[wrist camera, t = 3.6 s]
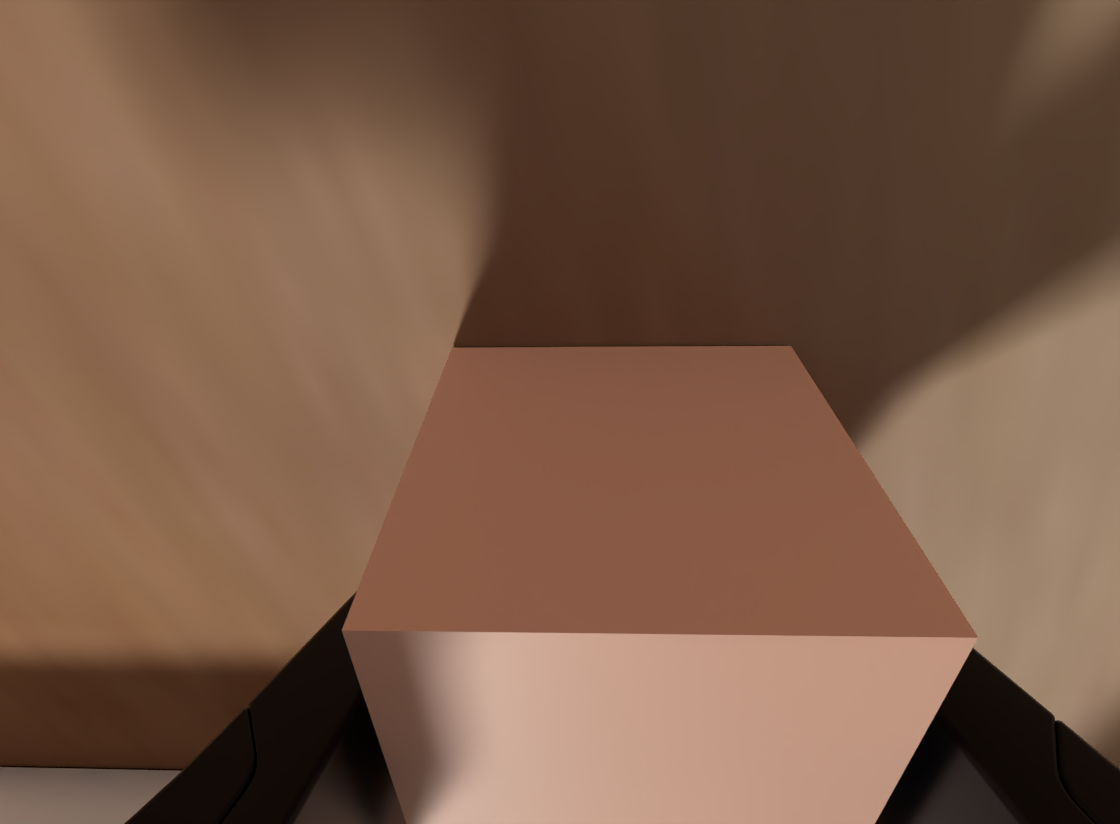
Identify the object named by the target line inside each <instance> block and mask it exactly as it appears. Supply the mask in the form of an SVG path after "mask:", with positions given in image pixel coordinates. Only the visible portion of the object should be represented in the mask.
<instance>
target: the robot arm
mask: <svg viewBox="0 0 1120 824" xmlns="http://www.w3.org/2000/svg"><path fill="white" fill-rule="evenodd" d="M356 593H357V591H356V592H355V594H354V595H353V596H352V597H351V598H350V599H349V600H348V601H347V602H346V603H345V604H344V605H343V606H342V607H341V608H340V609H339V610H338V611H337V612H336V613H335V614H334V615H333V616H332V617H331V618H330V619H329V620H328V622H327V623H326V624H325V625H324V626H323V627H322V628H321V629H320V630H319V631H318V632H317V633H316V634H315V635H314V636H313V637H312V638H311V639H310V640H309V641H308V642H307V643H306V644H305V645H304V646H303V647H302V648H301V650H300V651H299V652H298V653H297V654H296V655H295V656H294V657H293V658H292V659H291V660H290V661H289V662H288V663H287V664H286V665H285V666H284V667H283V668H282V669H281V670H280V671H279V672H278V673H277V674H276V675H275V676H274V678H273V679H272V680H271V681H270V682H269V683H268V684H267V685H266V686H265V687H264V688H263V689H262V690H261V691H260V692H259V693H258V694H257V695H256V696H255V697H254V698H253V699H252V700H251V701H250V703H249V708H244V709H242V710H241V711H240V712H239V713H238V715H237V716H236V717H235V718H234V719H233V720H232V721H231V722H230V723H229V724H228V725H227V726H226V727H225V728H224V729H223V730H222V731H221V732H220V733H219V734H218V735H217V736H216V737H215V738H214V739H213V740H212V741H211V742H210V743H209V744H208V745H207V746H206V747H205V748H204V749H203V750H202V751H201V752H200V753H199V754H198V755H197V756H196V757H195V758H194V759H193V760H192V761H191V762H190V763H189V764H188V765H187V766H186V767H185V768H184V769H183V770H182V771H181V772H180V773H179V774H178V775H177V776H175V777H174V778H173V779H172V780H171V781H170V782H169V783H168V784H167V785H166V786H165V787H164V788H162V789H161V790H160V791H159V792H158V793H157V794H156V795H155V796H154V797H153V798H152V799H151V800H149V801H148V802H147V803H146V804H145V805H144V806H143V807H142V808H141V809H140V810H139V811H138V812H136V813H135V814H134V815H133V816H132V817H131V818H130V819H129V820H127V821H126V822H125V823H124V824H406V821H405V818H404V815H403V812H402V809H401V806H400V803H399V800H398V797H397V794H396V791H395V788H394V785H393V782H392V779H391V776H390V773H389V770H388V767H387V764H386V761H385V758H384V755H383V752H382V749H381V746H380V743H379V740H378V737H377V734H376V731H375V728H374V725H373V722H372V719H371V716H370V713H369V710H368V707H367V704H366V701H365V699H364V696H363V693H362V690H361V687H360V684H359V681H358V678H357V675H356V672H355V669H354V666H353V663H352V660H351V657H350V654H349V651H348V648H347V645H346V642H345V639H344V636H343V633H342V628H343V626H344V623H345V621H346V618H347V616H348V613H349V610H350V608H351V605H352V603H353V600H354V598H355V595H356ZM875 824H1120V769H1119V768H1118V767H1117V766H1115V765H1114V764H1113V763H1112V762H1110V761H1109V760H1108V759H1107V758H1105V757H1104V756H1103V755H1102V754H1100V753H1099V752H1098V751H1097V750H1096V749H1094V748H1093V747H1092V746H1091V745H1089V744H1088V743H1087V742H1086V741H1085V740H1083V739H1082V738H1081V737H1080V736H1079V735H1077V734H1076V733H1075V732H1074V731H1073V730H1071V729H1070V728H1069V727H1068V726H1067V725H1065V724H1064V723H1063V722H1062V721H1059V720H1057V721H1055V718H1054V715H1053V714H1052V713H1051V712H1049V711H1048V710H1047V709H1046V708H1045V707H1043V706H1042V705H1041V704H1040V703H1039V702H1037V701H1036V700H1035V699H1034V698H1033V697H1031V696H1030V695H1029V694H1028V693H1027V692H1025V691H1024V690H1023V689H1022V688H1021V687H1019V686H1018V685H1017V684H1016V683H1015V682H1013V681H1012V680H1011V679H1010V678H1009V677H1007V676H1006V675H1005V674H1004V673H1003V672H1001V671H1000V670H999V669H998V668H997V667H995V666H994V665H993V664H992V663H991V662H989V661H988V660H987V659H986V658H985V657H983V656H982V655H981V654H980V653H979V652H977V651H976V650H975V649H974V648H972V650H971V652H970V654H969V655H968V657H967V659H966V661H965V663H964V664H963V666H962V668H961V670H960V672H959V673H958V675H957V677H956V679H955V681H954V682H953V684H952V686H951V688H950V690H949V691H948V693H947V695H946V697H945V699H944V700H943V702H942V704H941V706H940V708H939V709H938V711H937V713H936V715H935V716H934V718H933V720H932V722H931V724H930V725H929V727H928V729H927V731H926V733H925V734H924V736H923V738H922V740H921V742H920V743H919V745H918V747H917V749H916V751H915V752H914V754H913V756H912V758H911V760H910V761H909V763H908V765H907V767H906V769H905V770H904V772H903V774H902V776H901V778H900V779H899V781H898V783H897V785H896V787H895V788H894V790H893V792H892V794H891V796H890V797H889V799H888V801H887V803H886V805H885V806H884V808H883V810H882V812H881V814H880V815H879V817H878V819H877V821H876V823H875Z"/></svg>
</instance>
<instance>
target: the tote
mask: <svg viewBox="0 0 1120 824" xmlns="http://www.w3.org/2000/svg"><path fill="white" fill-rule="evenodd" d="M180 772H181V771H174V770H123V769H73V768H22V767H0V824H124V823H125V822H126V821H127V820H129V819H130V818H131V817H132V816H133V815H134V814H135V813H136V812H138V811H139V810H140V809H141V808H142V807H143V806H144V805H145V804H146V803H147V802H148V801H149V800H151V799H152V798H153V797H154V796H155V795H156V794H157V793H158V792H159V791H160V790H161V789H162V788H164V787H165V786H166V785H167V784H168V783H169V782H170V781H171V780H172V779H173V778H174V777H175V776H177V775H178V774H179V773H180Z"/></svg>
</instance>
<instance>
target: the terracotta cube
mask: <svg viewBox="0 0 1120 824" xmlns="http://www.w3.org/2000/svg"><path fill="white" fill-rule="evenodd" d="M342 633H343V636H344V639H345V642H346V645H347V648H348V651H349V654H350V657H351V660H352V663H353V666H354V669H355V672H356V675H357V678H358V681H359V684H360V687H361V690H362V693H363V696H364V699H365V701H366V704H367V707H368V710H369V713H370V716H371V719H372V722H373V725H374V728H375V731H376V734H377V737H378V740H379V743H380V746H381V749H382V752H383V755H384V758H385V761H386V764H387V767H388V770H389V773H390V776H391V779H392V782H393V785H394V788H395V791H396V794H397V797H398V800H399V803H400V806H401V809H402V812H403V815H404V818H405V821H406V824H875V823H876V821H877V819H878V817H879V815H880V814H881V812H882V810H883V808H884V806H885V805H886V803H887V801H888V799H889V797H890V796H891V794H892V792H893V790H894V788H895V787H896V785H897V783H898V781H899V779H900V778H901V776H902V774H903V772H904V770H905V769H906V767H907V765H908V763H909V761H910V760H911V758H912V756H913V754H914V752H915V751H916V749H917V747H918V745H919V743H920V742H921V740H922V738H923V736H924V734H925V733H926V731H927V729H928V727H929V725H930V724H931V722H932V720H933V718H934V716H935V715H936V713H937V711H938V709H939V708H940V706H941V704H942V702H943V700H944V699H945V697H946V695H947V693H948V691H949V690H950V688H951V686H952V684H953V682H954V681H955V679H956V677H957V675H958V673H959V672H960V670H961V668H962V666H963V664H964V663H965V661H966V659H967V657H968V655H969V654H970V652H971V650H972V648H973V646H974V645H975V643H976V641H977V639H978V637H977V635H976V633H975V632H974V630H973V629H972V627H971V626H970V624H969V623H968V621H967V619H966V618H965V616H964V615H963V613H962V612H961V610H960V608H959V607H958V605H957V604H956V602H955V601H954V599H953V598H952V596H951V594H950V593H949V591H948V590H947V588H946V587H945V585H944V584H943V582H942V580H941V579H940V577H939V576H938V574H937V573H936V571H935V570H934V568H933V566H932V565H931V563H930V562H929V560H928V559H927V557H926V555H925V554H924V552H923V551H922V549H921V548H920V546H919V545H918V543H917V541H916V540H915V538H914V537H913V535H912V534H911V532H910V531H909V529H908V527H907V526H906V524H905V523H904V521H903V520H902V518H901V517H900V515H899V513H898V512H897V510H896V509H895V507H894V506H893V504H892V502H891V501H890V499H889V498H888V496H887V495H886V493H885V492H884V490H883V488H882V487H881V485H880V484H879V482H878V481H877V479H876V478H875V476H874V474H873V473H872V471H871V470H870V468H869V467H868V465H867V464H866V462H865V460H864V459H863V457H862V456H861V454H860V453H859V451H858V450H857V448H856V446H855V445H854V443H853V442H852V440H851V439H850V437H849V435H848V434H847V432H846V431H845V429H844V428H843V426H842V425H841V423H840V421H839V420H838V418H837V417H836V415H835V414H834V412H833V411H832V409H831V407H830V406H829V404H828V403H827V401H826V400H825V398H824V397H823V395H822V393H821V392H820V390H819V389H818V387H817V386H816V384H815V382H814V381H813V379H812V378H811V376H810V375H809V373H808V372H807V370H806V368H805V367H804V365H803V364H802V362H801V361H800V359H799V358H798V356H797V354H796V353H795V351H794V350H793V348H792V347H791V346H658V347H462V348H452V349H451V352H450V354H449V357H448V360H447V362H446V365H445V367H444V370H443V372H442V375H441V377H440V380H439V383H438V385H437V388H436V390H435V393H434V395H433V398H432V401H431V403H430V406H429V408H428V411H427V413H426V416H425V418H424V421H423V424H422V426H421V429H420V431H419V434H418V436H417V439H416V442H415V444H414V447H413V449H412V452H411V454H410V457H409V459H408V462H407V465H406V467H405V470H404V472H403V475H402V477H401V480H400V482H399V485H398V488H397V490H396V493H395V495H394V498H393V500H392V503H391V506H390V508H389V511H388V513H387V516H386V518H385V521H384V523H383V526H382V529H381V531H380V534H379V536H378V539H377V541H376V544H375V546H374V549H373V552H372V554H371V557H370V559H369V562H368V564H367V567H366V570H365V572H364V575H363V577H362V580H361V582H360V585H359V587H358V590H357V593H356V595H355V598H354V600H353V603H352V605H351V608H350V610H349V613H348V616H347V618H346V621H345V623H344V626H343V628H342Z"/></svg>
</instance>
